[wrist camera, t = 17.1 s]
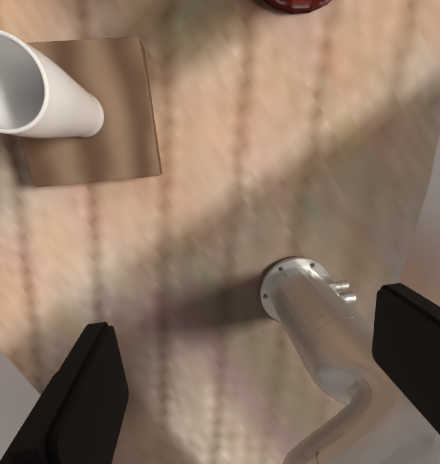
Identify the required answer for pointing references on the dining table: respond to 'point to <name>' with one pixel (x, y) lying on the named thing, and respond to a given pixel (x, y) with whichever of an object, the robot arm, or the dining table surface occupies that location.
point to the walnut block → (115, 116)
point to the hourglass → (297, 5)
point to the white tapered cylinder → (42, 96)
